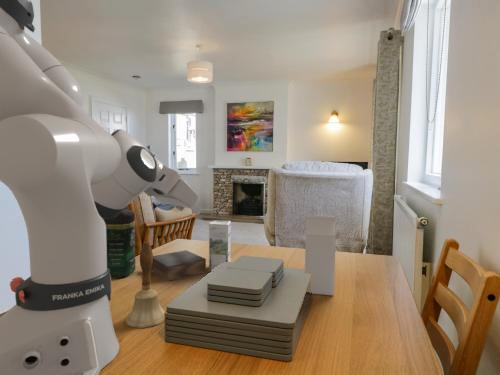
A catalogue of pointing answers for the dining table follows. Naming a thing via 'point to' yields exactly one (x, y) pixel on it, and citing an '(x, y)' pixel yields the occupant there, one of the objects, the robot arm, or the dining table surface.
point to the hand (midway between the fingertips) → (190, 210)
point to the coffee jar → (121, 244)
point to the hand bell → (146, 296)
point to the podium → (178, 265)
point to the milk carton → (320, 253)
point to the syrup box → (219, 243)
